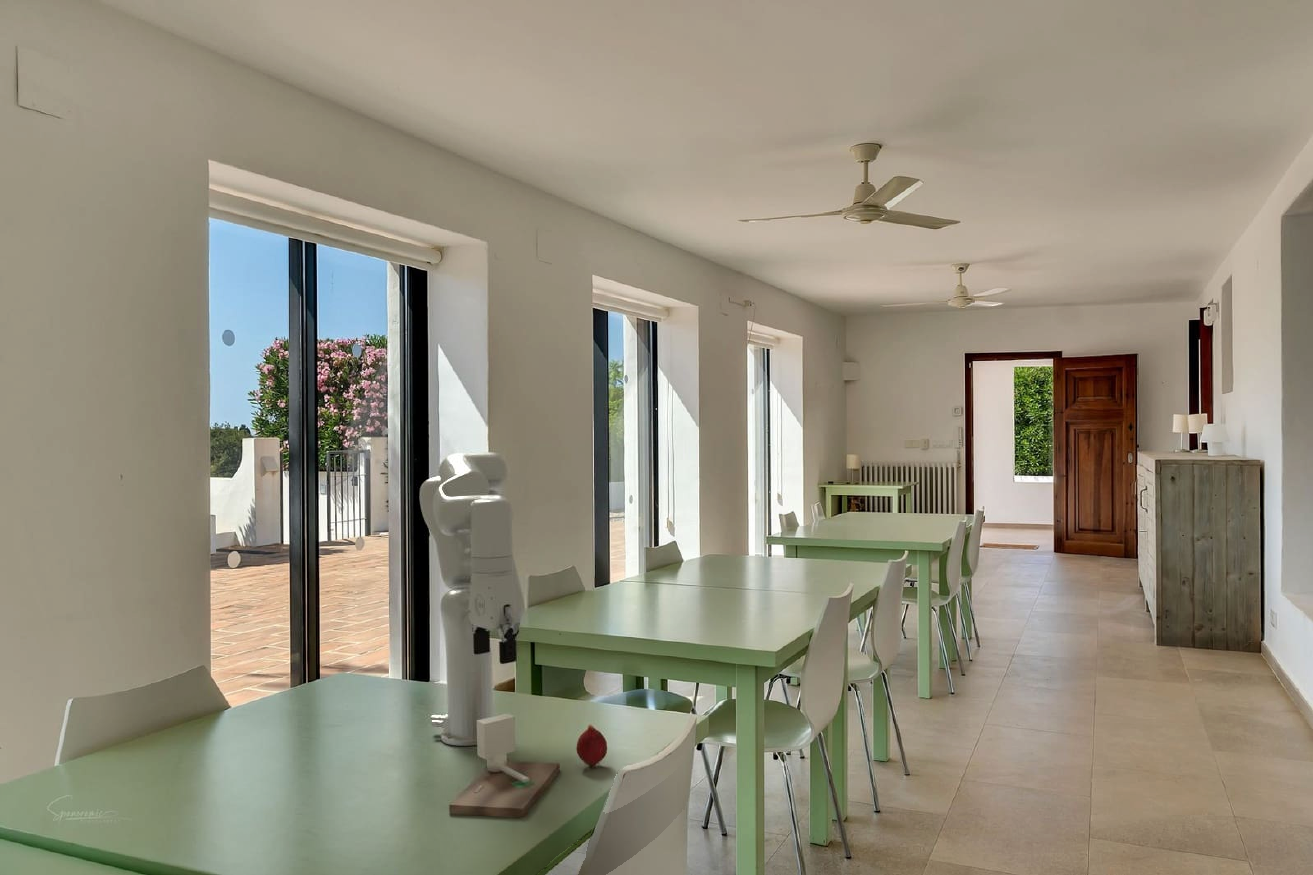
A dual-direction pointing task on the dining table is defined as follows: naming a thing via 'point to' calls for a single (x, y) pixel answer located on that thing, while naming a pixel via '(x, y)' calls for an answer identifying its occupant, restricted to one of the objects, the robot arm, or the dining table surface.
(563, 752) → the dining table surface
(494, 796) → the board
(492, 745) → the tuning peg
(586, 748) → the onion
